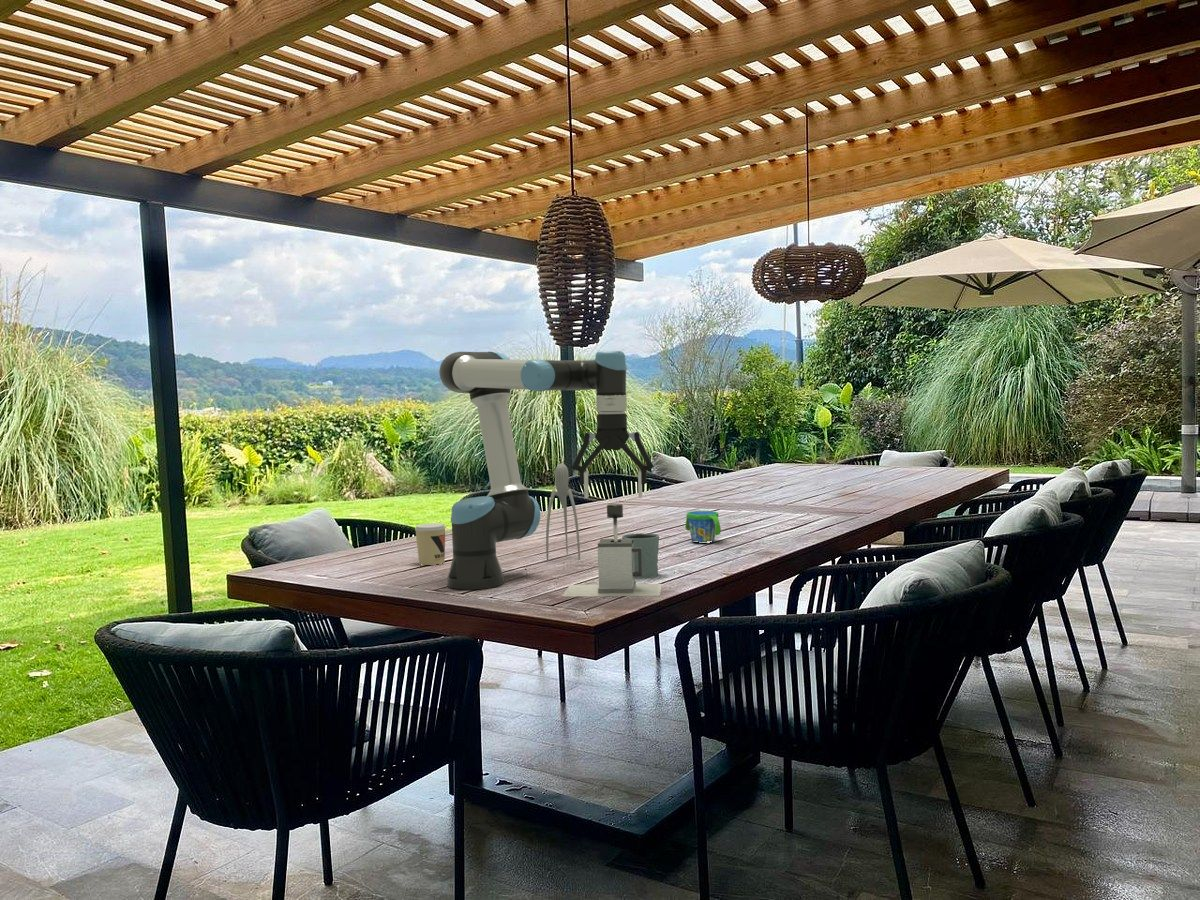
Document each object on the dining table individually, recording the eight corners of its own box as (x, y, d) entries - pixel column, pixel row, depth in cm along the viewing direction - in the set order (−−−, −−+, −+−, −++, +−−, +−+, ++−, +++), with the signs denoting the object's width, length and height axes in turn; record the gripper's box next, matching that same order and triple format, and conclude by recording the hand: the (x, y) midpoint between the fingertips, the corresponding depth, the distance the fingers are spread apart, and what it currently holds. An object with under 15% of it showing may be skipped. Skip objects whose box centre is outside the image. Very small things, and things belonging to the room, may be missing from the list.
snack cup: (729, 543, 304) (729, 513, 304) (703, 547, 299) (702, 516, 299) (702, 538, 318) (702, 509, 317) (677, 541, 313) (676, 511, 312)
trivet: (562, 601, 225) (562, 596, 225) (570, 589, 239) (569, 584, 239) (659, 600, 223) (659, 595, 223) (662, 588, 237) (661, 583, 237)
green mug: (629, 584, 244) (628, 539, 243) (618, 577, 253) (617, 534, 253) (665, 580, 246) (664, 536, 246) (653, 574, 256) (651, 531, 255)
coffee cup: (437, 566, 279) (436, 527, 278) (410, 565, 282) (409, 527, 281) (452, 561, 288) (450, 523, 287) (426, 560, 291) (424, 522, 290)
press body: (598, 593, 227) (596, 544, 227) (601, 586, 236) (600, 538, 236) (641, 592, 226) (640, 543, 226) (643, 585, 235) (642, 538, 234)
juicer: (583, 555, 290) (580, 461, 289) (580, 560, 281) (576, 463, 280) (551, 556, 291) (547, 462, 290) (546, 561, 282) (543, 464, 281)
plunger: (603, 579, 229) (601, 506, 228) (606, 575, 235) (604, 503, 234) (627, 579, 228) (625, 506, 227) (629, 574, 234) (627, 503, 233)
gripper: (560, 414, 227) (562, 499, 228) (661, 412, 224) (662, 498, 225) (564, 413, 234) (566, 496, 235) (662, 411, 231) (663, 495, 233)
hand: (613, 497), depth 230 cm, fingers open, 13 cm apart
